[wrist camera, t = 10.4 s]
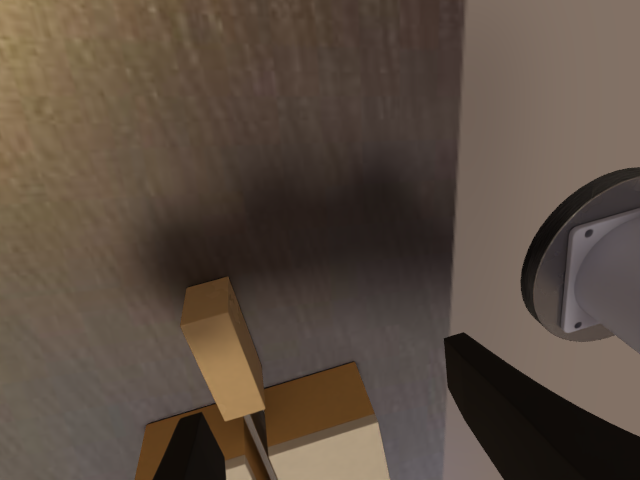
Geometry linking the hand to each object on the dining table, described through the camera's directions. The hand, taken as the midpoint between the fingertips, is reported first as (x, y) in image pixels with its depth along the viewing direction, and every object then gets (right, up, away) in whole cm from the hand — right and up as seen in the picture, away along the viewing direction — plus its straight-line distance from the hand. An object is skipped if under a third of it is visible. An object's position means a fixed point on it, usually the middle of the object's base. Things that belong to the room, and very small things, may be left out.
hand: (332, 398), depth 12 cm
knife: (-4, -6, +14) cm, 15 cm away
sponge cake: (-3, -10, +16) cm, 19 cm away
